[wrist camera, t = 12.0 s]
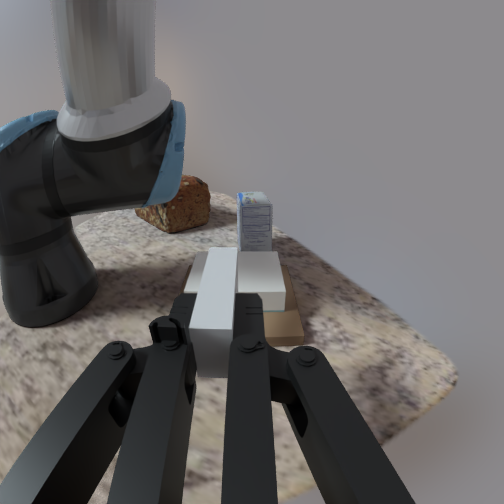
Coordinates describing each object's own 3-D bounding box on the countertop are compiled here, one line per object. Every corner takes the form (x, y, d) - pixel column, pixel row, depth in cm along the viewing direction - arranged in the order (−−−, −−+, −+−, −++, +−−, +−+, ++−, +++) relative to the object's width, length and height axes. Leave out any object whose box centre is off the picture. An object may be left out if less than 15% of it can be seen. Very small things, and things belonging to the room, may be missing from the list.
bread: (212, 224, 57) (211, 175, 52) (165, 237, 50) (160, 183, 46) (171, 206, 69) (169, 167, 65) (132, 215, 63) (128, 174, 58)
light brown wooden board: (166, 343, 25) (164, 334, 25) (190, 273, 38) (189, 264, 38) (303, 345, 26) (304, 335, 25) (286, 273, 38) (286, 264, 38)
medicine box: (271, 262, 41) (273, 204, 38) (241, 263, 41) (240, 205, 37) (263, 241, 48) (264, 191, 45) (237, 242, 48) (236, 191, 44)
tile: (183, 291, 27) (197, 251, 35) (186, 311, 28) (199, 268, 36) (285, 291, 27) (277, 251, 36) (284, 311, 29) (276, 268, 37)
